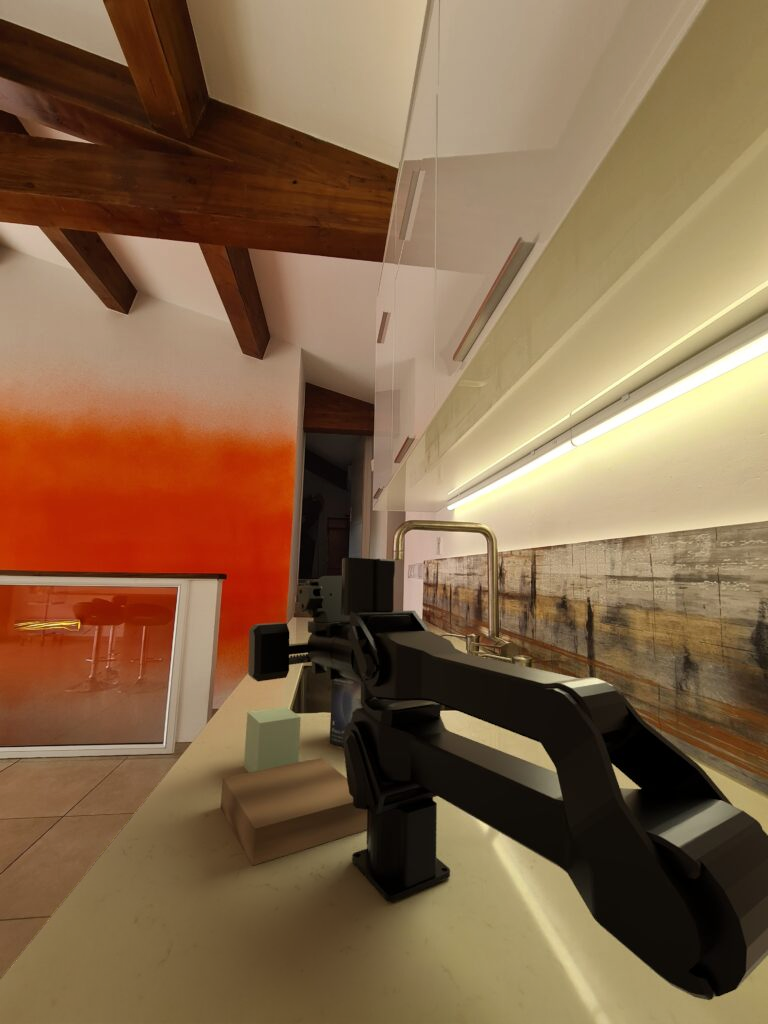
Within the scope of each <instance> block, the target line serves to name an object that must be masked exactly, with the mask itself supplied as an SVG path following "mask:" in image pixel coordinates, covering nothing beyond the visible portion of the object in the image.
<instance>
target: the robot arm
mask: <svg viewBox="0 0 768 1024" xmlns="http://www.w3.org/2000/svg"><path fill="white" fill-rule="evenodd" d="M395 563H396V562H395V559H388V558H363V557H344V558H342V561H341V564H342V565H341V575H323V576H320V577H319V578H318V579H314V578H313V579H311V580H306V581H305V582H304V583H305V584H304V585H302V586H301V587H300V588H299V589H298V590H297V591H298V593H297V596H298V603H299V604H298V605H299V609H300V610H299V611H301V613H308V615H309V617H310V618H311V619H313V620H310V621H309V620H308V621H307V632H308V633H310V635H309V637H308V640H307V642H301V643H291V644H290V630H289V627H288V623H287V622H269V623H267V622H266V623H256V624H253V625H252V626H251V627H250V628H249V630H248V665H247V666H248V670H247V671H248V672H247V673H248V674H247V675H248V676H249V677H250V678H251V679H252V680H253V681H256V682H264V681H265V682H266V681H272V680H280V679H285V678H286V679H287V677H288V675H289V672H290V665H298V664H306V663H308V664H309V663H311V674H315V675H317V674H324V673H325V674H326V679H328V680H331V681H332V679H338V678H344V677H346V678H349V679H352V680H355V681H358V682H360V683H361V706H362V708H357V709H355V710H354V711H353V713H352V715H353V716H352V719H351V722H350V723H348V724H347V725H346V727H345V730H344V736H343V746H342V747H343V753H344V762H345V763H344V764H345V772H346V773H345V774H346V778H347V783H348V787H349V793H350V795H351V796H352V797H353V806H355V807H356V808H359V809H365V810H367V809H368V811H367V830H366V848H364V849H361V850H359V851H355V852H353V853H352V855H351V860H352V861H351V862H352V863H353V864H354V865H355V866H356V868H358V869H359V871H360V872H361V873H362V874H363V875H364V876H365V878H367V879H368V881H369V882H370V883H371V884H372V885H373V886H374V887H375V889H377V891H378V892H379V893H380V894H381V895H382V897H383V898H384V899H385V900H386V901H389V902H394V901H397V900H399V899H402V898H405V897H406V896H409V895H411V894H414V893H416V892H418V891H421V890H423V889H426V888H427V887H431V886H433V885H435V884H437V883H439V882H442V881H444V880H447V879H449V878H450V877H451V869H450V868H449V866H447V865H446V863H444V862H443V861H442V860H440V859H439V858H438V857H437V831H438V830H437V821H438V820H437V818H438V817H437V815H438V813H437V812H438V811H437V810H438V809H437V807H438V803H437V802H436V801H434V798H437V797H439V798H441V799H442V800H443V801H445V802H447V803H449V804H450V805H452V806H453V807H455V808H457V809H459V810H461V811H462V812H464V813H466V814H468V815H470V816H471V817H473V818H474V819H476V820H478V821H479V822H481V823H483V824H485V825H487V826H488V827H490V828H492V829H493V830H495V831H497V832H498V833H500V834H502V835H504V836H506V837H507V838H509V839H511V840H512V841H514V842H516V843H517V844H518V845H521V846H523V847H524V848H526V849H528V850H529V851H531V852H533V853H534V854H536V855H537V856H540V857H541V858H543V859H544V860H546V861H548V862H550V863H552V864H553V865H554V866H557V867H558V868H560V869H561V870H563V872H565V873H566V874H567V875H568V877H569V879H570V880H571V882H572V885H574V887H575V888H576V890H577V892H578V894H579V896H580V897H581V899H582V900H583V903H584V904H585V905H586V907H587V909H588V911H589V913H590V915H591V916H592V918H593V920H595V921H596V922H597V923H598V925H599V926H600V927H601V928H603V930H605V931H606V932H607V933H609V934H610V935H611V936H612V937H614V939H615V940H617V941H618V942H619V943H620V944H621V945H623V946H624V948H625V949H627V950H628V951H629V952H631V953H632V955H634V956H635V957H636V958H638V959H639V960H640V961H641V962H642V963H643V964H644V965H646V966H647V967H648V968H649V969H650V970H652V971H653V972H654V973H655V974H657V975H658V976H659V977H660V978H661V979H663V980H664V981H666V983H668V984H669V985H671V986H672V987H674V988H676V989H677V990H680V991H682V992H683V993H686V994H687V995H690V996H691V997H694V998H697V999H701V1000H707V1001H711V1000H713V999H714V998H715V997H718V998H719V997H722V996H724V995H726V994H729V993H731V992H733V991H736V990H737V989H738V988H739V987H740V986H741V985H742V983H744V981H746V979H747V978H748V977H749V976H750V975H751V974H752V973H753V972H754V971H755V970H756V968H758V966H760V964H761V963H762V962H763V961H765V960H766V958H767V957H768V834H767V833H766V831H765V830H764V829H763V826H762V824H761V823H760V822H759V821H758V820H757V819H756V818H754V817H753V816H751V815H750V814H748V812H746V811H745V810H743V809H740V808H739V807H736V806H734V805H733V803H732V802H731V801H730V799H729V798H728V797H727V796H726V795H725V794H724V793H723V791H722V790H721V789H720V788H719V786H717V784H716V783H715V782H714V781H713V779H712V778H711V777H710V776H709V774H707V772H706V771H705V770H704V769H703V768H702V767H701V766H700V764H698V763H697V762H696V761H695V760H694V759H693V758H692V757H690V756H689V755H687V753H685V752H683V751H682V750H681V749H680V748H679V747H677V746H676V745H675V744H673V742H671V741H670V740H669V739H667V738H666V737H665V736H663V735H662V734H661V733H660V732H659V731H657V730H656V728H653V727H652V726H651V725H650V724H649V723H647V722H646V721H645V720H644V719H643V718H642V717H641V715H640V713H638V712H637V710H636V709H635V708H634V707H633V705H632V704H631V702H630V701H629V700H628V699H627V698H626V697H625V695H624V694H623V693H622V692H621V691H620V690H619V689H618V688H617V687H615V686H614V685H613V684H611V683H608V682H607V681H604V680H602V679H600V678H597V677H590V676H589V677H583V678H578V677H573V676H570V675H567V674H560V673H556V672H552V671H547V670H543V669H538V668H535V667H534V668H533V667H530V666H525V665H521V664H515V663H511V662H507V661H503V660H497V659H493V658H489V657H484V656H479V655H475V654H470V653H466V652H463V651H461V650H459V649H458V648H457V647H455V645H454V644H453V643H452V641H451V640H449V639H447V638H445V637H443V636H441V635H439V634H437V633H435V632H432V631H431V630H430V629H429V628H428V626H427V625H426V624H425V622H424V621H423V619H422V618H421V617H420V615H418V613H417V611H416V610H397V609H394V607H395V605H394V603H395V600H394V598H395V597H394V596H395V595H394V593H395V590H394V589H395V587H394V586H395V579H394V578H395V571H396V564H395ZM442 706H444V707H446V708H449V709H451V710H454V711H457V712H459V713H462V714H465V715H467V716H470V717H472V718H475V719H477V720H481V721H483V722H486V723H488V724H491V725H493V726H495V727H499V728H502V729H504V730H507V731H508V732H512V733H514V734H517V735H519V736H522V737H524V738H527V739H530V740H532V741H535V742H538V743H539V744H541V746H542V747H543V749H544V750H545V752H546V754H547V756H548V757H549V758H550V760H551V762H552V763H553V766H554V767H555V770H556V771H554V770H551V769H549V768H546V767H543V766H540V765H538V764H535V763H533V762H531V761H528V760H525V759H523V758H520V757H517V756H515V755H513V754H509V753H508V752H505V751H502V750H499V749H496V748H494V747H492V746H489V745H486V744H485V743H484V744H483V743H481V742H479V741H476V740H474V739H471V738H469V737H465V736H463V735H460V734H458V733H456V732H452V731H450V730H448V729H447V728H446V726H445V723H444V721H443V719H442V716H441V710H442ZM614 767H616V768H617V769H618V770H619V771H620V772H621V773H622V774H624V775H625V776H626V777H627V778H628V779H629V780H630V781H632V782H633V783H634V784H635V785H636V786H637V787H639V788H626V787H625V788H621V787H620V785H619V782H618V778H617V776H616V772H615V770H614Z"/></svg>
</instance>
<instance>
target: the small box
mask: <svg viewBox="0 0 768 1024" xmlns="http://www.w3.org/2000/svg"><path fill="white" fill-rule="evenodd" d="M330 698H331V699H330V701H331V702H330V722H329V724H330V725H329V742H328V743H329V744H333V745H336V746H341V747H344V746H343V736H344V730H345V727H346V725H347V724H348V723H350V722H351V719H352V716H353V715H352V713H353V711H354V710H355V709H357V708H362V706H361V683H360V682H358V681H355V680H352V679H349V678H346V677H344V678H338V679H331V697H330Z"/></svg>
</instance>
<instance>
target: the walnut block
mask: <svg viewBox="0 0 768 1024" xmlns="http://www.w3.org/2000/svg"><path fill="white" fill-rule="evenodd" d="M221 784H222V785H221V797H220V809H221V810H222V812H223V813H224V816H225V818H226V820H227V822H228V823H229V825H230V827H231V828H232V831H233V832H234V834H235V836H236V838H237V840H238V842H239V843H240V845H241V847H242V849H243V850H244V852H245V854H246V856H247V858H248V860H249V862H250V864H251V865H252V866H256V865H259V864H262V863H265V862H268V861H272V860H275V859H279V858H281V857H284V856H288V855H291V854H294V853H298V852H300V851H304V850H307V849H311V848H313V847H314V848H315V847H317V846H320V845H323V844H325V843H329V842H333V841H335V840H336V841H337V840H340V839H342V838H345V837H349V836H351V835H355V834H358V833H361V832H364V831H367V811H368V809H367V810H365V809H359V808H356V807H355V806H353V797H352V796H351V795H350V793H349V787H348V783H347V776H344V775H343V774H342V773H341V772H339V770H337V769H336V768H334V766H332V765H331V764H330V763H328V762H327V761H326V760H325V759H323V758H322V757H318V758H313V759H308V760H303V761H298V762H297V763H292V764H288V765H283V766H278V767H273V768H268V769H263V770H258V771H253V772H248V771H247V772H244V773H240V774H234V775H228V776H224V777H222V783H221Z"/></svg>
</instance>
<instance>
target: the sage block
mask: <svg viewBox="0 0 768 1024" xmlns="http://www.w3.org/2000/svg"><path fill="white" fill-rule="evenodd" d="M301 719H302V717H301V716H299V715H298V714H297V713H295V712H294V711H293V710H292V709H290V708H289V707H286V706H282V707H275V708H268V709H267V708H266V709H260V710H253V711H247V715H246V729H245V730H246V731H245V744H244V759H243V760H244V761H243V767H244V769H245V770H246V771H247V773H248V772H253V771H258V770H263V769H268V768H273V767H278V766H283V765H288V764H292V763H297V762H299V754H300V739H301V738H300V737H301V735H300V734H301Z"/></svg>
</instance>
